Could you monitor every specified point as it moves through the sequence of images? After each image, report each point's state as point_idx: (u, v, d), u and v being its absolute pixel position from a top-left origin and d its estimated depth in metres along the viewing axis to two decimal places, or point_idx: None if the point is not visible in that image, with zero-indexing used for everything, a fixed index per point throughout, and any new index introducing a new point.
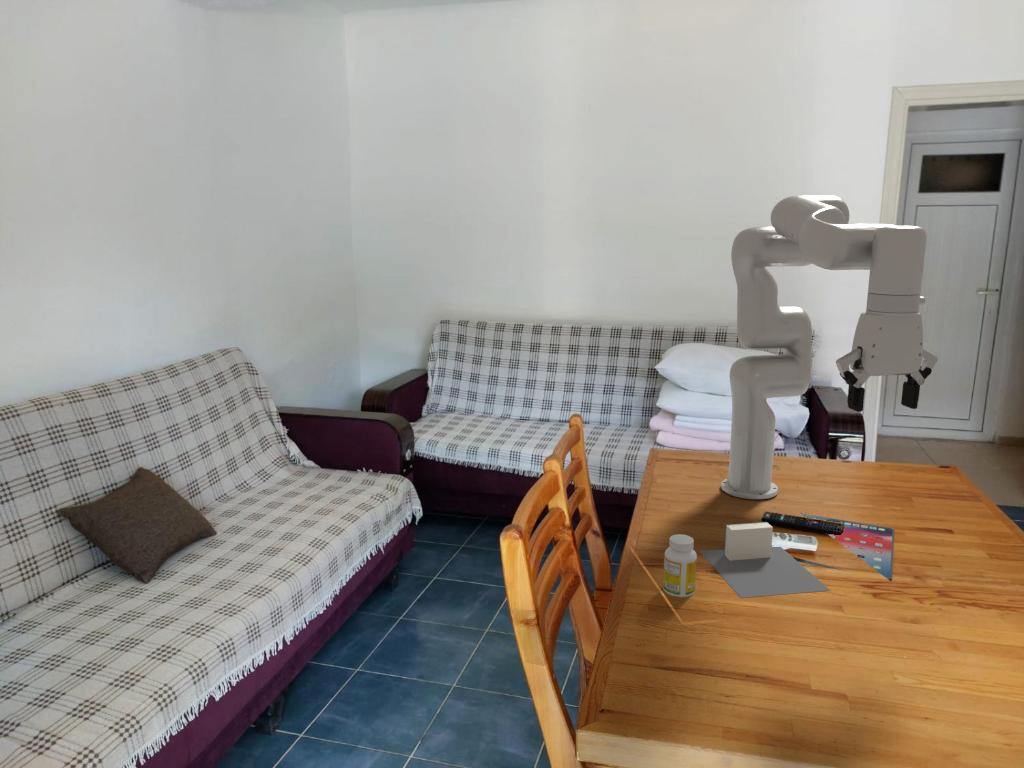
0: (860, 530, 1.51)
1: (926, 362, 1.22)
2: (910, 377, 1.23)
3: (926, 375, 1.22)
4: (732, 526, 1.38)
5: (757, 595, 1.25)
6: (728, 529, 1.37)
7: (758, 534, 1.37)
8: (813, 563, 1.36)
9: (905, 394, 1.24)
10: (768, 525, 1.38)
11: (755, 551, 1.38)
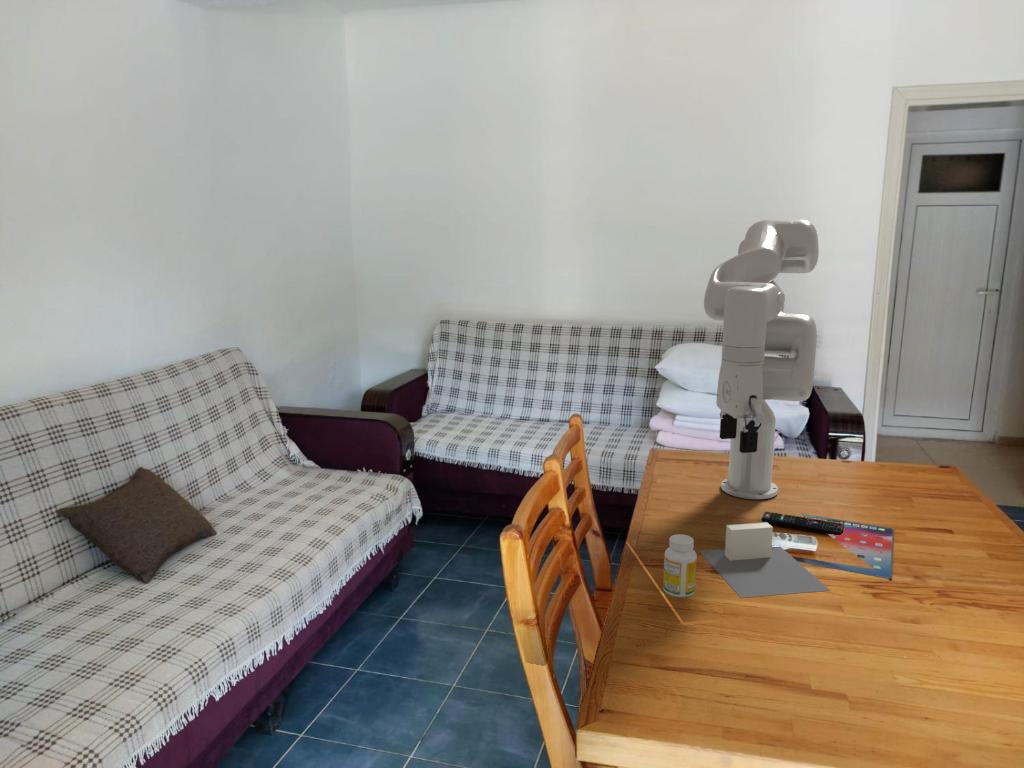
0: (860, 530, 1.51)
1: None
2: (726, 413, 1.45)
3: None
4: (732, 526, 1.38)
5: (757, 595, 1.25)
6: (728, 529, 1.37)
7: (758, 534, 1.37)
8: (813, 563, 1.36)
9: (726, 429, 1.45)
10: (768, 525, 1.38)
11: (755, 551, 1.38)
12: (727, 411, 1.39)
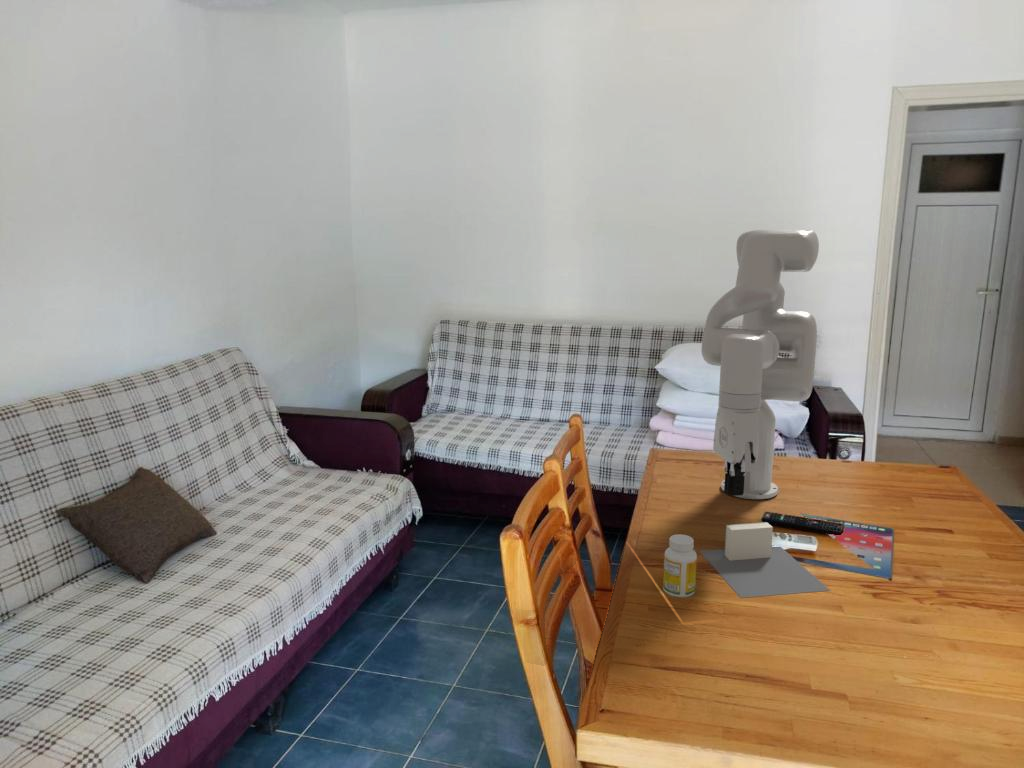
0: (860, 530, 1.51)
1: None
2: (730, 466, 1.43)
3: None
4: (732, 526, 1.38)
5: (757, 595, 1.25)
6: (728, 529, 1.37)
7: (758, 534, 1.37)
8: (813, 563, 1.36)
9: None
10: (768, 525, 1.38)
11: (755, 551, 1.38)
12: (724, 456, 1.40)
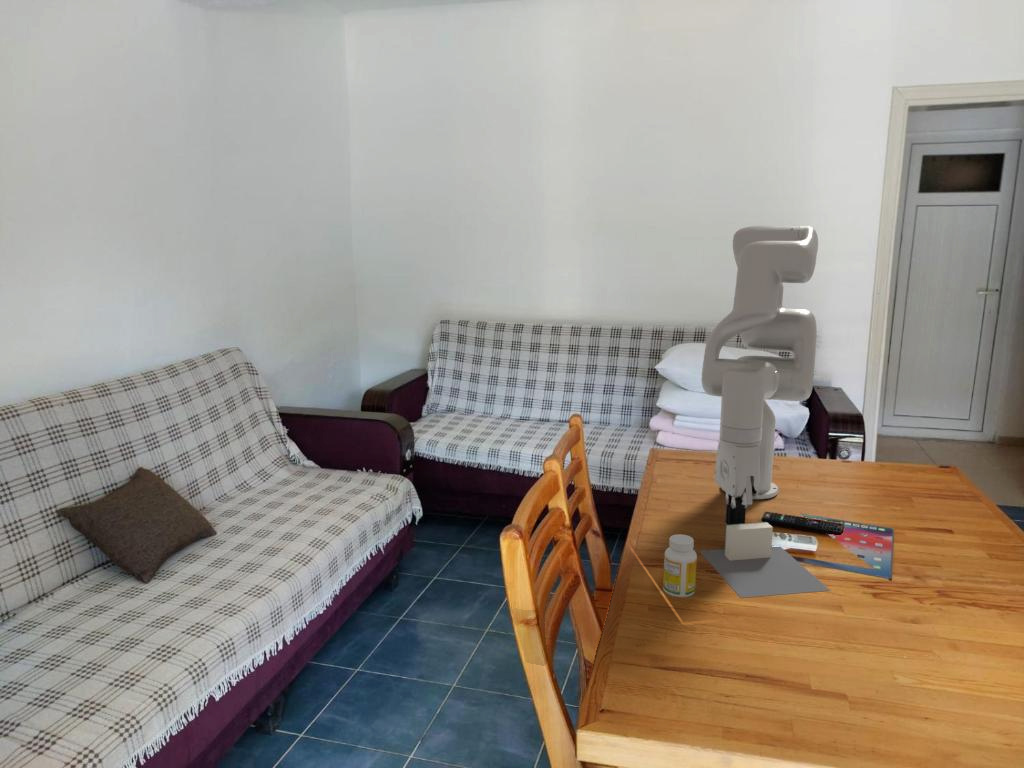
0: (861, 530, 1.50)
1: None
2: (731, 497, 1.44)
3: None
4: (732, 526, 1.38)
5: (757, 595, 1.25)
6: (728, 529, 1.37)
7: (758, 534, 1.37)
8: (813, 563, 1.36)
9: None
10: (768, 525, 1.38)
11: (755, 551, 1.38)
12: (725, 489, 1.41)
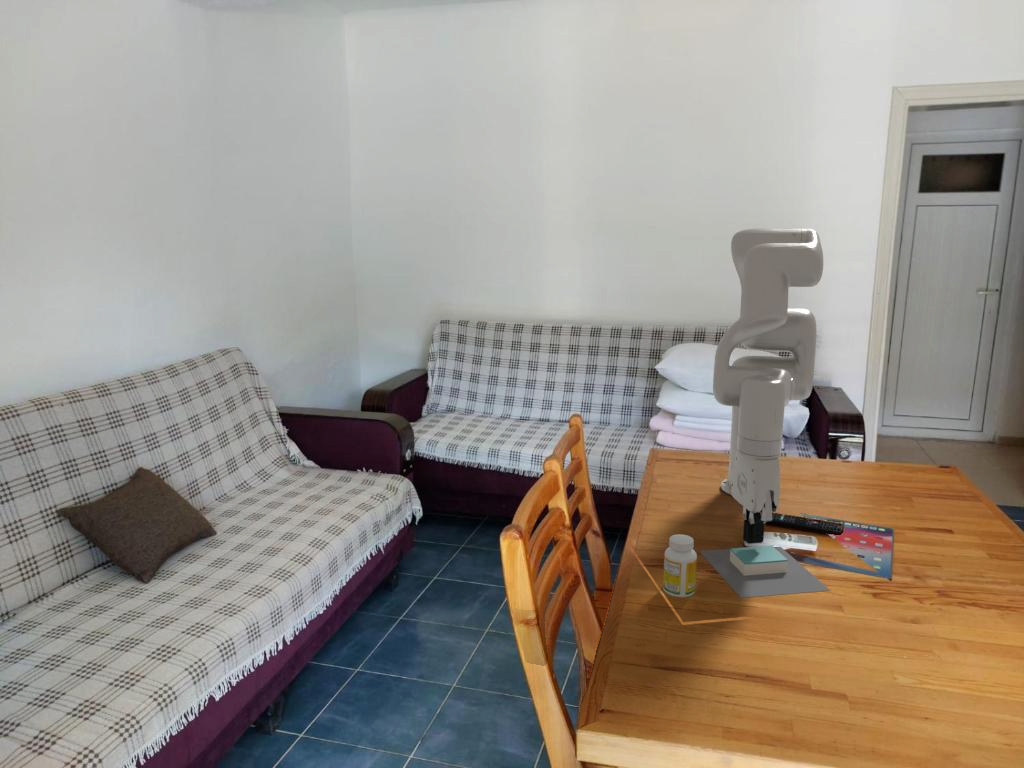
0: (861, 530, 1.50)
1: None
2: (749, 512, 1.36)
3: None
4: (748, 568, 1.31)
5: (757, 595, 1.25)
6: (743, 568, 1.32)
7: None
8: (813, 563, 1.36)
9: None
10: (785, 567, 1.32)
11: None
12: (742, 503, 1.34)
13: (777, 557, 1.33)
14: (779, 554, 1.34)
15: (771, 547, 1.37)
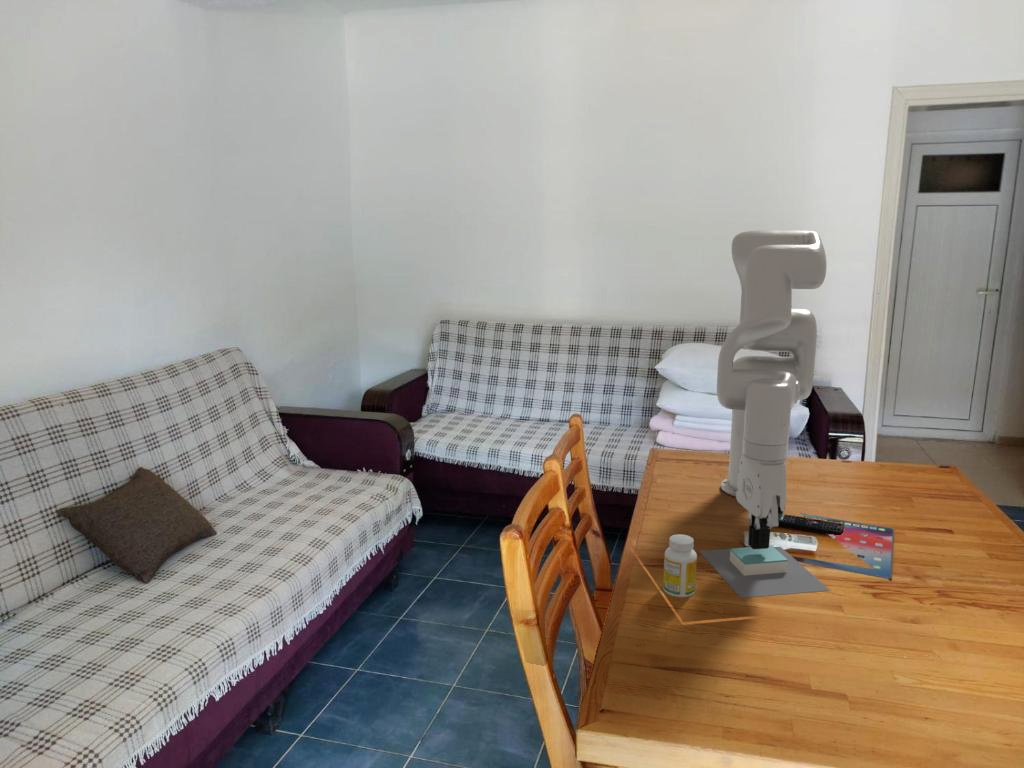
0: (861, 530, 1.50)
1: None
2: (754, 517, 1.34)
3: None
4: (748, 568, 1.31)
5: (757, 595, 1.25)
6: (743, 568, 1.32)
7: None
8: (813, 563, 1.36)
9: None
10: (785, 567, 1.32)
11: None
12: (748, 509, 1.32)
13: (777, 557, 1.33)
14: (779, 554, 1.34)
15: (771, 547, 1.37)
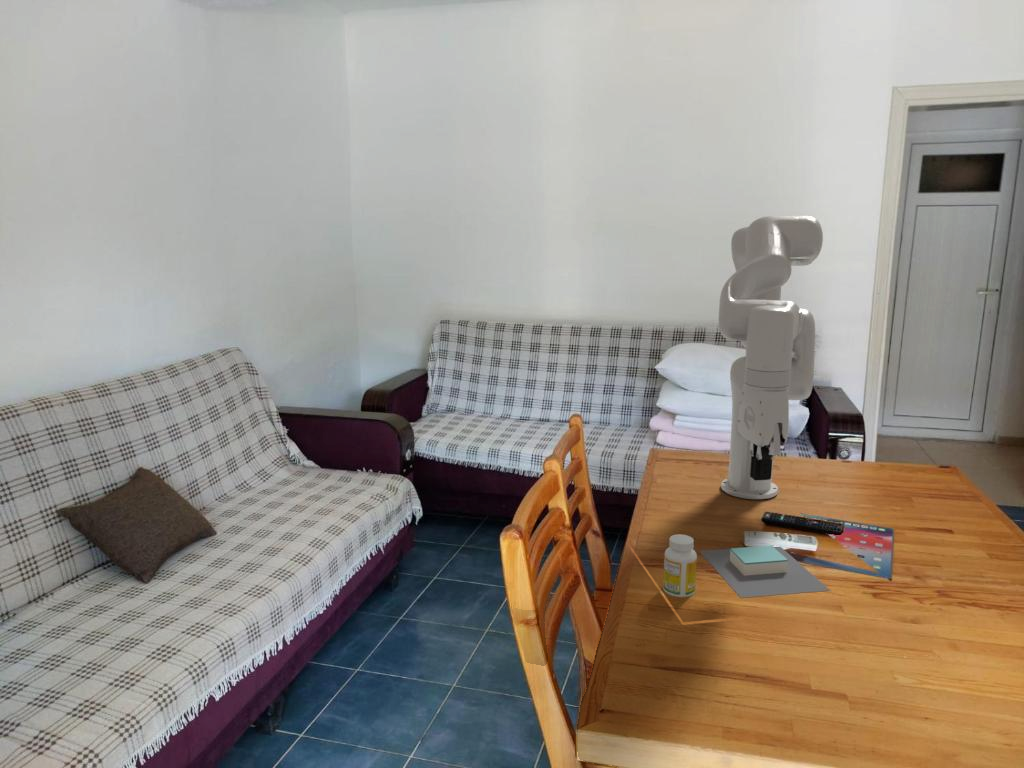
0: (861, 530, 1.50)
1: None
2: (756, 449, 1.33)
3: None
4: (748, 568, 1.31)
5: (757, 595, 1.25)
6: (743, 568, 1.32)
7: None
8: (813, 563, 1.36)
9: None
10: (785, 567, 1.32)
11: None
12: (750, 438, 1.30)
13: (777, 557, 1.33)
14: (779, 554, 1.34)
15: (771, 547, 1.37)
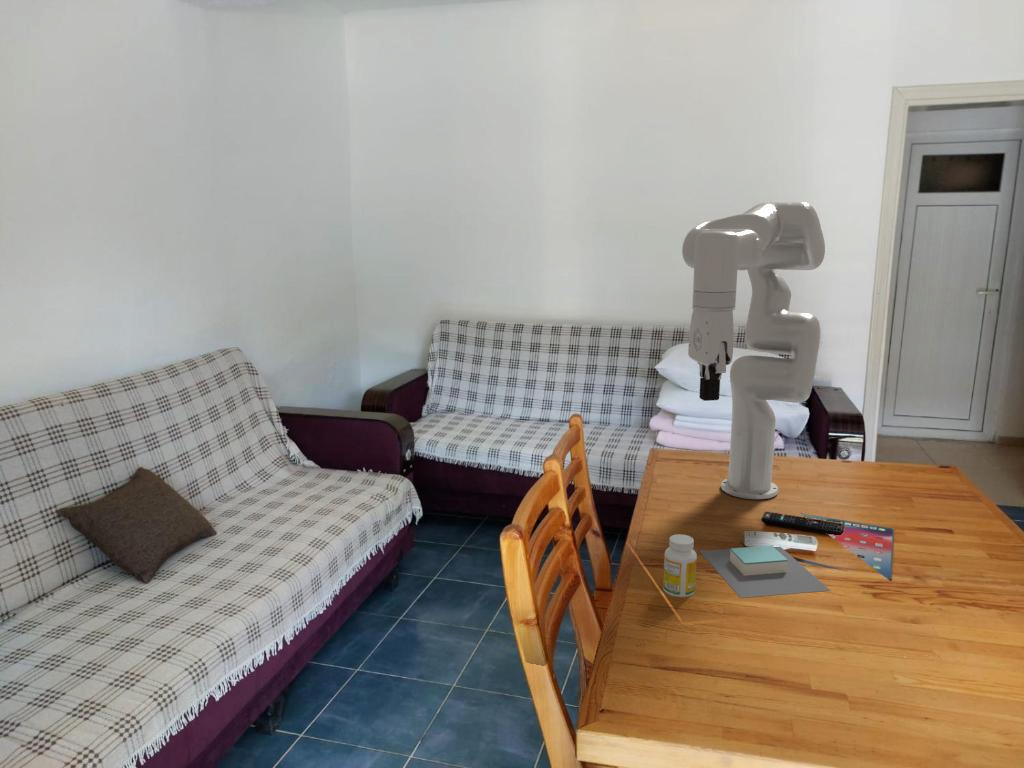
0: (861, 530, 1.50)
1: None
2: (705, 371, 1.39)
3: None
4: (748, 568, 1.31)
5: (757, 595, 1.25)
6: (743, 568, 1.32)
7: None
8: (813, 563, 1.36)
9: None
10: (785, 567, 1.32)
11: None
12: (698, 359, 1.36)
13: (777, 557, 1.33)
14: (779, 554, 1.34)
15: (771, 547, 1.37)
